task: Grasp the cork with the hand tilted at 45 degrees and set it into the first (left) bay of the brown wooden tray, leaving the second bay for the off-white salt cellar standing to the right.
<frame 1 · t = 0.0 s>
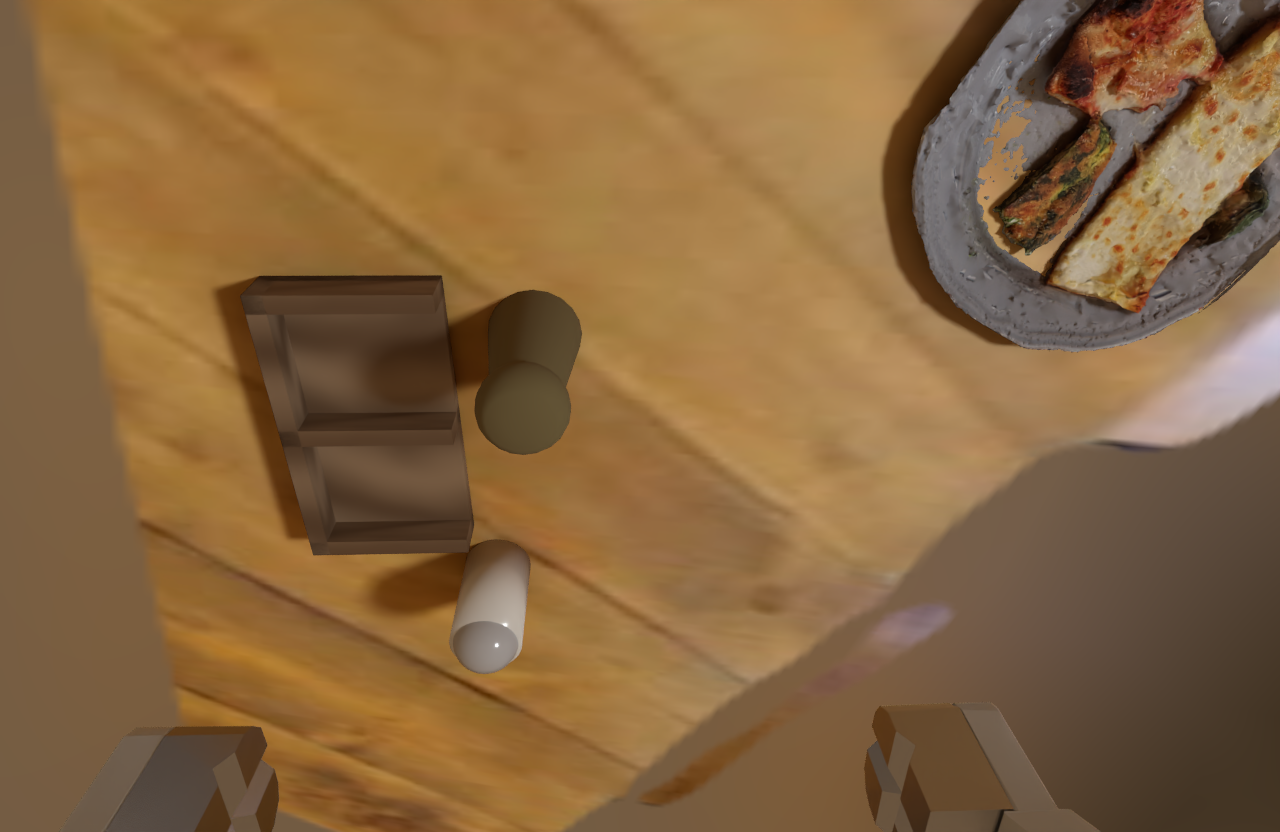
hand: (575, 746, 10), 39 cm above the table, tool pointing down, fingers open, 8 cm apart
food plate: (1119, 143, 45), on the table
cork: (535, 332, 50), on the table
salt cellar: (498, 563, 60), on the table
brown wooden tray: (378, 413, 52), on the table
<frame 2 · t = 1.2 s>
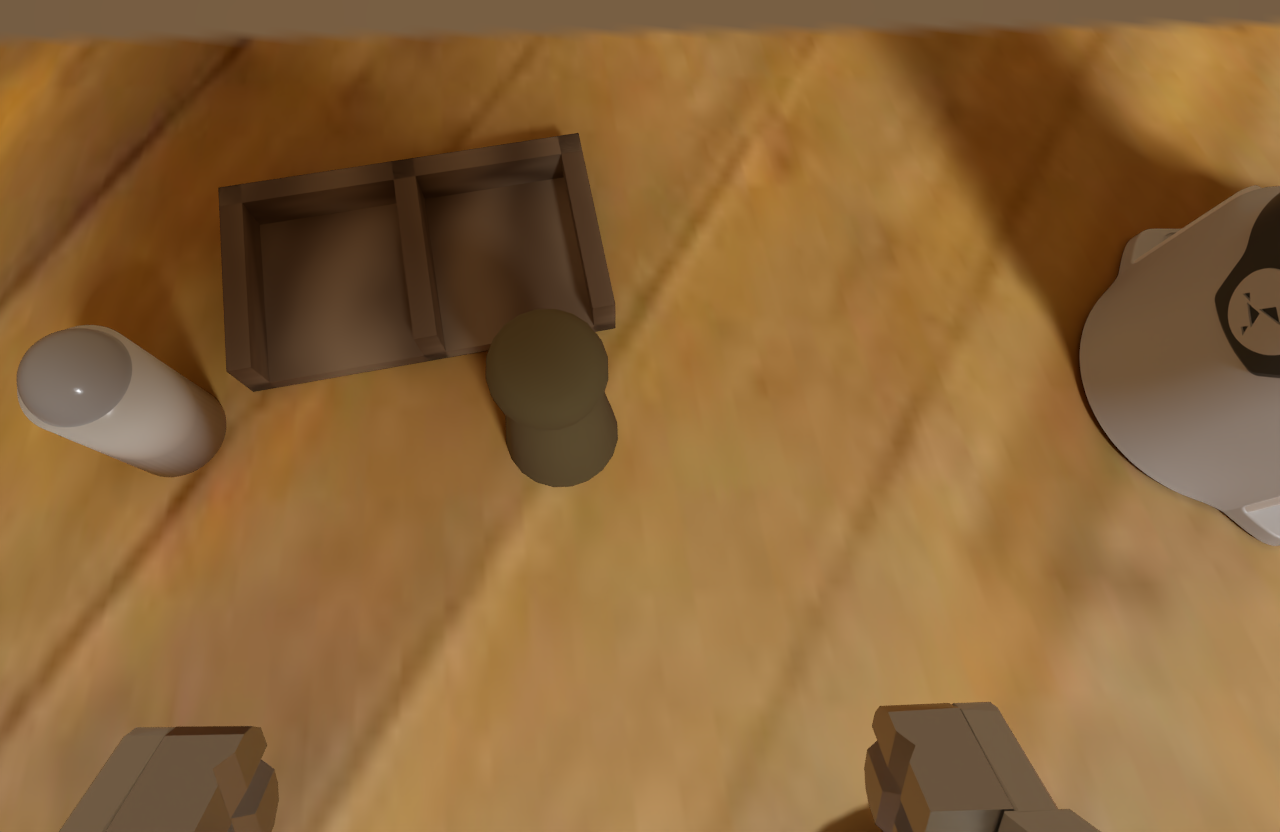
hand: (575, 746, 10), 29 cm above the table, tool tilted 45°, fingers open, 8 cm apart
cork: (562, 433, 42), on the table
salt cellar: (177, 431, 41), on the table
brown wooden tray: (426, 272, 44), on the table
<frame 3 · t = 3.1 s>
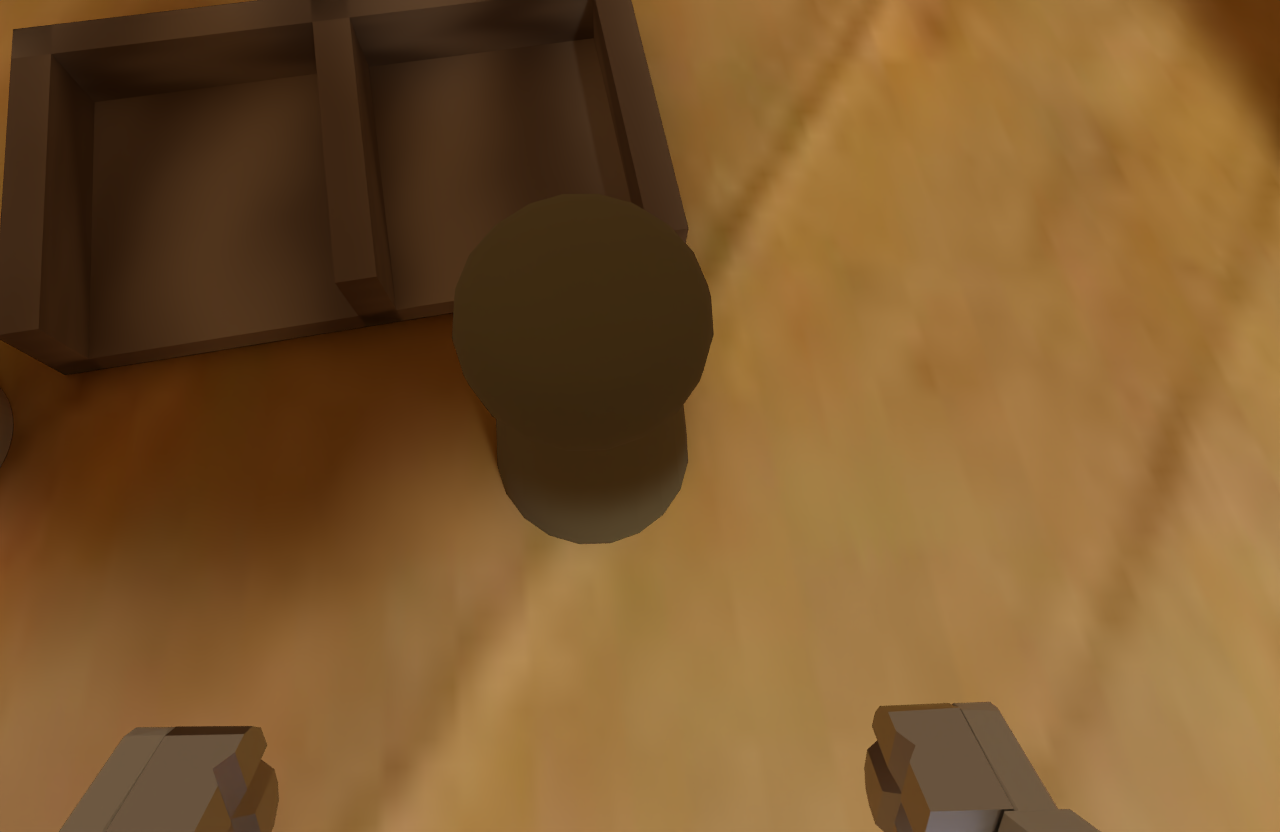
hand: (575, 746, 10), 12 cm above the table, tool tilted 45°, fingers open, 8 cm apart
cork: (593, 450, 24), on the table
brown wooden tray: (369, 183, 27), on the table
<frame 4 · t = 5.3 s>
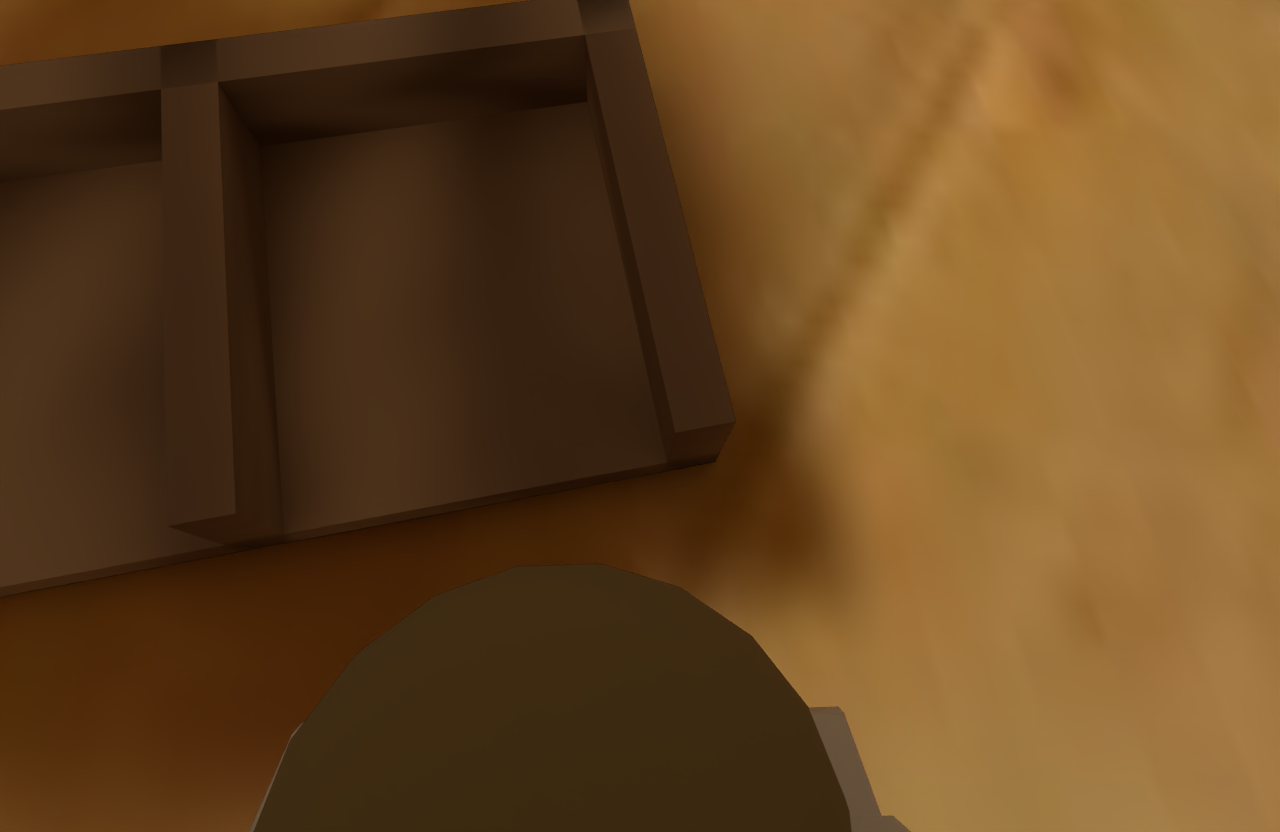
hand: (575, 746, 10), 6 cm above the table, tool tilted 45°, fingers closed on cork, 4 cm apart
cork: (587, 753, 16), on the table, touching gripper
brown wooden tray: (257, 320, 18), on the table
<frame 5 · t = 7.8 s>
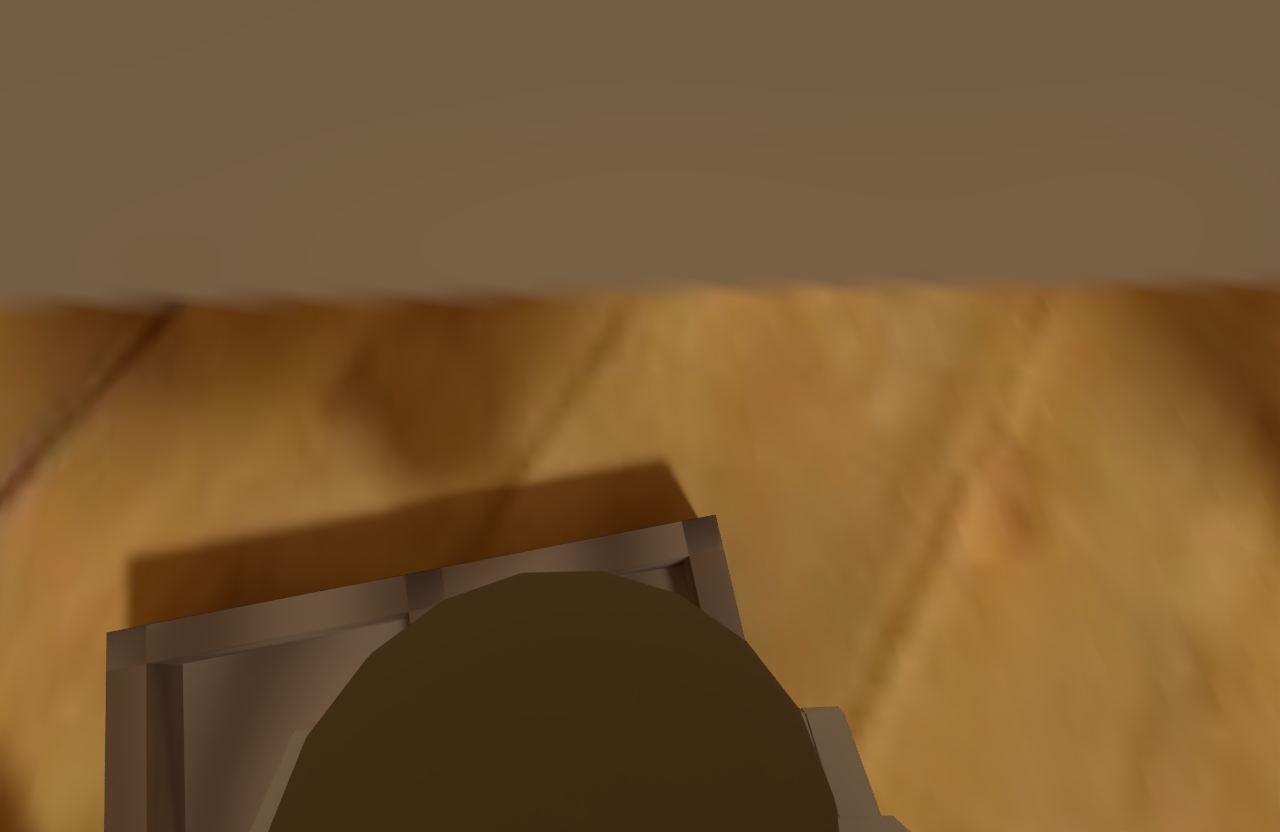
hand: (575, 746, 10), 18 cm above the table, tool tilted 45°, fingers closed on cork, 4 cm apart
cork: (587, 752, 16), point 11 cm above the table, touching gripper
brown wooden tray: (460, 739, 27), on the table
when the fingers open (8 cm above the table, at t = 10.2 s): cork stays where it is, resting on brown wooden tray.
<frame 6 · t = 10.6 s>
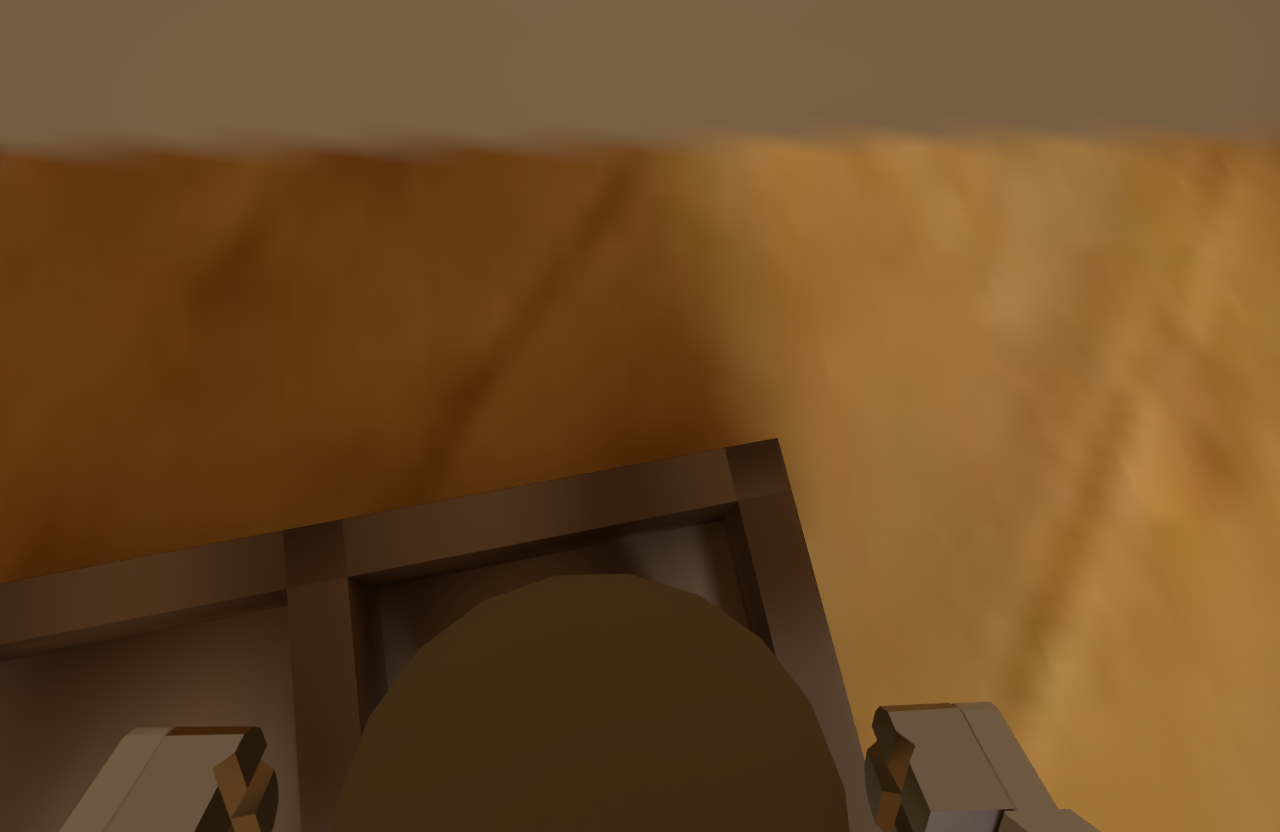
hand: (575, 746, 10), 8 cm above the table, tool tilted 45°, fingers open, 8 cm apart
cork: (593, 743, 17), point 1 cm above the table, touching brown wooden tray
brown wooden tray: (379, 790, 17), on the table
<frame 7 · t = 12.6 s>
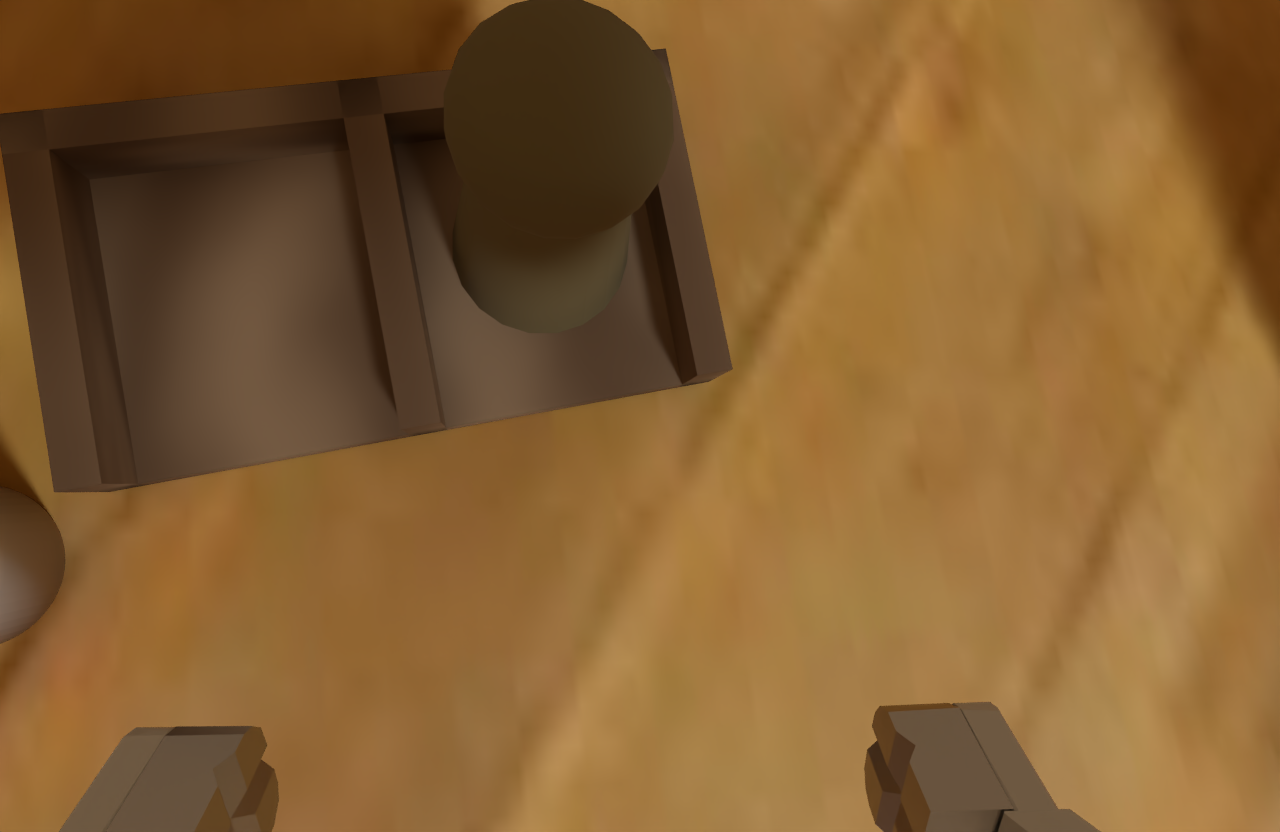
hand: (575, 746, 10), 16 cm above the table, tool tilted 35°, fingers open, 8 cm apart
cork: (540, 249, 27), point 1 cm above the table, touching brown wooden tray
brown wooden tray: (401, 276, 26), on the table
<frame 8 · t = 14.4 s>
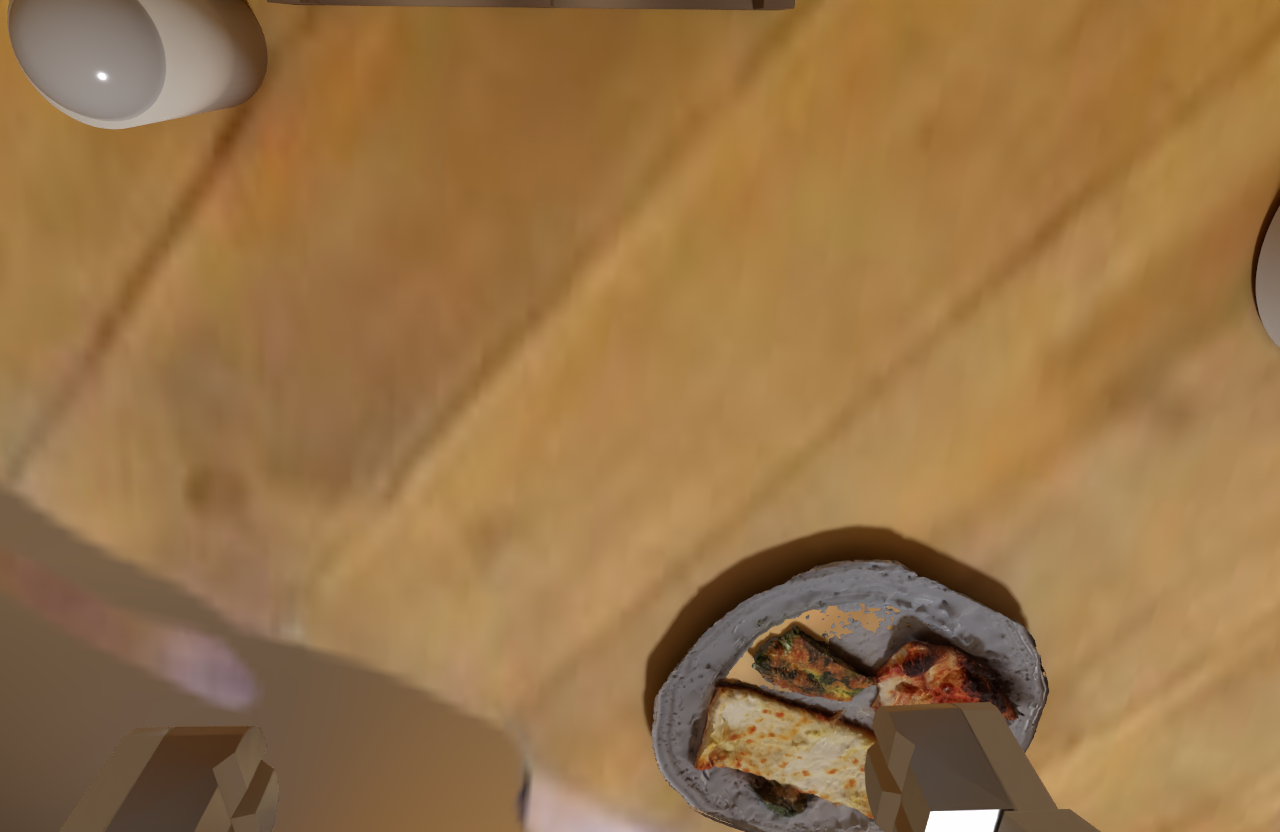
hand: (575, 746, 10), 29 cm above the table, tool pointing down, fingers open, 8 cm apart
food plate: (840, 697, 51), on the table
salt cellar: (205, 44, 32), on the table
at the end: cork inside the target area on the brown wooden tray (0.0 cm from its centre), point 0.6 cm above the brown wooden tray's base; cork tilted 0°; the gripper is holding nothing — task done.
